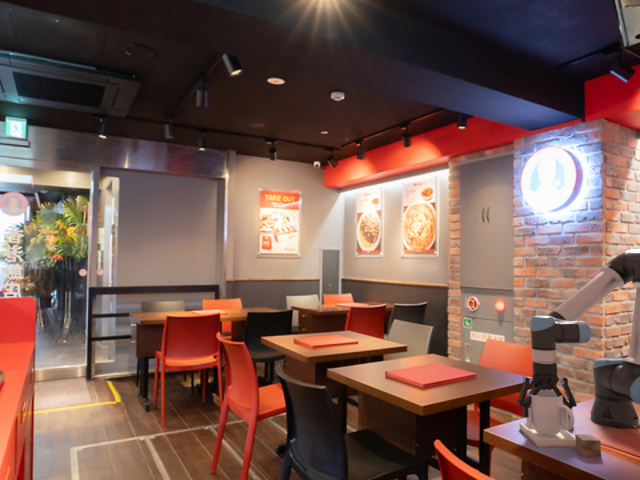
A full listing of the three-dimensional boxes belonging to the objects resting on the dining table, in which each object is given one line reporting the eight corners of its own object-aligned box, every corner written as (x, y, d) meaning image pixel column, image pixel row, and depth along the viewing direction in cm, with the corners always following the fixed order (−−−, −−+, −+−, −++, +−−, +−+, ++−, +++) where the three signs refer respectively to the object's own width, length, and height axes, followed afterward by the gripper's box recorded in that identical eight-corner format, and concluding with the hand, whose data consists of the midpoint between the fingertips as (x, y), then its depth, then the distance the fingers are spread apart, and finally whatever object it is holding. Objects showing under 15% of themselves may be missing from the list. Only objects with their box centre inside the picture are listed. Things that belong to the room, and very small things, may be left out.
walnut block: (592, 451, 139) (591, 434, 140) (601, 457, 134) (600, 440, 135) (576, 450, 140) (575, 434, 140) (584, 457, 135) (583, 440, 135)
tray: (557, 430, 157) (557, 423, 158) (579, 447, 142) (579, 440, 142) (519, 429, 159) (519, 422, 159) (537, 446, 143) (536, 439, 143)
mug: (583, 436, 146) (580, 395, 147) (566, 444, 140) (563, 402, 141) (540, 424, 159) (537, 387, 160) (522, 431, 153) (520, 392, 154)
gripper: (575, 359, 155) (579, 424, 153) (505, 359, 157) (508, 422, 155) (586, 363, 147) (590, 431, 146) (512, 363, 149) (515, 430, 148)
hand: (547, 427), depth 150 cm, fingers closed on mug, 11 cm apart
